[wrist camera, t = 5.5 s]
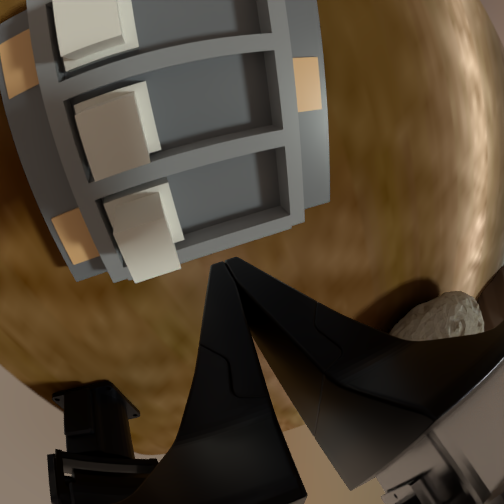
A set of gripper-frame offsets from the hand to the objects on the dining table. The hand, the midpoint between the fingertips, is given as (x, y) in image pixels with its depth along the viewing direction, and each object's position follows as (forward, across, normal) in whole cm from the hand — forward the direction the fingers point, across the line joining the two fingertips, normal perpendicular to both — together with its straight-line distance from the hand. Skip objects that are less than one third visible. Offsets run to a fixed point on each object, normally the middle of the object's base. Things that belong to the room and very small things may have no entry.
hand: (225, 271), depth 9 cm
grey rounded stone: (+8, -22, +26) cm, 35 cm away
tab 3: (+6, +2, 0) cm, 7 cm away
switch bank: (+8, 0, -4) cm, 9 cm away
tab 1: (+6, +2, -9) cm, 11 cm away
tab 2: (+6, +2, -4) cm, 8 cm away
